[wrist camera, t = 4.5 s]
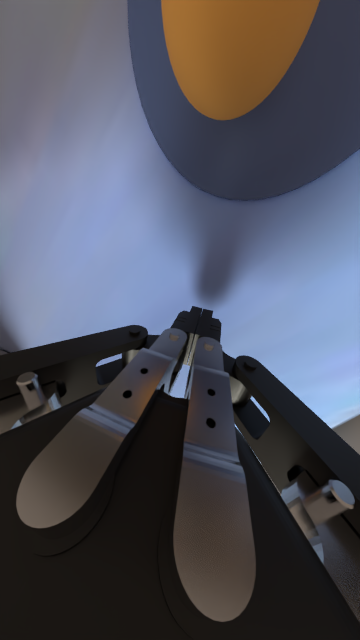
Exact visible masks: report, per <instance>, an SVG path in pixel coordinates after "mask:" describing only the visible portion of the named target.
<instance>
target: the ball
mask: <svg viewBox="0 0 360 640" xmlns="http://www.w3.org/2000/svg"><path fill="white" fill-rule="evenodd" d="M319 2H320V0H161V7H162V18H163V28H164V34H165V40H166V46H167V50H168V55H169V59H170V62H171V65H172V69H173V72H174V74H175V77H176V79H177V82H178V84H179V86H180V88H181V90H182V92H183V93H184V95H185V96H186V98H187V99H188V101H189V102H190V103H191V104H192V105H193V107H194V108H195V109H196V110H198V111H199V112H200V113H201V114H203V115H205V116H207V117H209V118H212V119H215V120H231V119H234V118H238V117H240V116H242V115H244V114H246V113H248V112H249V111H251V110H253V109H254V108H255V107H256V106H257V105H259V104H260V103H261V102H262V101H263V100H264V99H265V98H266V97H267V96H268V95H269V94H270V93H271V92H272V90H273V89H274V88H275V87H276V86H277V84H278V83H279V82H280V80H281V79H282V77H283V76H284V75H285V73H286V72H287V70H288V68H289V67H290V65H291V63H292V62H293V60H294V58H295V57H296V55H297V53H298V51H299V49H300V47H301V45H302V43H303V41H304V39H305V37H306V34H307V32H308V30H309V27H310V25H311V23H312V21H313V18H314V15H315V13H316V10H317V7H318V4H319Z"/></svg>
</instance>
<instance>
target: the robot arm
mask: <svg viewBox="0 0 360 640" xmlns="http://www.w3.org/2000/svg"><path fill="white" fill-rule="evenodd" d="M201 312H202V314H201ZM212 314H213V311H211V310H207V309H203V311H202V308H198V307H194V306H192V308H191V311H190V312H188V311H182V312H180V313H179V314H178V316H177V318H176V320H175V321H174V323H173V325H172V326H171V328H169V329H166V330H164V331H163V332H162V334H161V335H148V331H147V329H146V328H144V327H142V326H139V325H130V326H126V327H121V328H117V329H113V330H108V331H104V332H99V333H95V334H91V335H86V336H82V337H78V338H73V339H69V340H65V341H60V342H56V343H52V344H47V345H43V346H38V347H34V348H30V349H25V350H21V351H17V352H12V353H7V352H4V351H2V350H0V640H360V455H359V454H358V453H357V452H356V451H355V450H354V449H353V448H351V447H350V446H349V445H348V444H347V443H346V442H345V441H344V440H343V439H342V438H341V437H340V436H339V435H337V434H336V433H335V432H334V431H333V430H332V429H331V428H330V427H329V426H328V425H327V424H326V423H325V422H323V421H322V420H321V419H320V418H319V417H318V416H317V415H316V414H315V413H314V412H313V411H312V410H311V409H309V408H308V407H307V406H306V405H305V404H304V403H303V402H302V401H301V400H300V399H299V398H298V397H296V396H295V395H294V394H293V393H292V392H291V391H290V390H289V389H288V388H287V387H286V386H285V385H284V384H282V383H281V382H280V381H279V380H278V379H277V378H276V377H275V376H274V375H273V374H272V373H271V372H270V371H268V370H267V369H266V368H265V367H264V366H263V365H262V364H261V363H260V362H259V361H257V360H256V359H254V358H252V357H249V356H238V357H237V358H236V359H234V358H232V357H230V356H228V355H227V354H226V353H224V352H223V351H222V346H221V344H220V337H221V322H220V321H219V319H215V318H212ZM200 316H201V317H200ZM190 352H191V353H190ZM121 353H122V358H121V359H118V360H115V361H112V362H109V363H107V364H104V365H101V366H98V367H95V366H96V364H97V363H98V362H99V361H100V360H102V359H105V358H108V357H111V356H114V355H118V354H121ZM189 355H190V357H189ZM188 358H189V361H188ZM187 362H188V366H190V370H189V374H188V378H187V383H186V389H185V395H184V398H175V397H172V396H170V393H171V391H172V389H173V386H174V384H175V382H176V380H177V378H178V375H179V373H180V370H181V368H182V365H183V364H185V365H187ZM251 396H253V397H254V398H255V400H256V401H257V402H258V403H259V404H260V406H261V407H262V408H263V409H264V410H265V411H266V413H267V414H268V416H269V419H270V422H269V421H268V420H267V418H266V417H265V416H264V415H263V414H262V412H261V411H260V410H259V409H258V408H257V406H256V405H255V404H254V403H253V401H252V400H251V399H250V398H251ZM234 423H235V424H236V426H237V427H238V429H239V430H240V432H241V433H242V434H241V433H240V432H239V430H238V429H237V428H236V427H235V424H234ZM250 447H251V448H250ZM252 450H253V451H252ZM254 453H255V454H254ZM255 455H256V456H257V457H256V456H255ZM257 458H258V459H259V460H258V459H257ZM259 461H260V462H261V464H262V465H263V467H264V468H265V470H266V471H267V473H268V474H269V476H270V477H271V479H272V481H273V482H274V483H275V485H276V487H277V488H278V490H279V491H280V493H281V494H282V496H280V494H279V492H278V491H277V489H276V488H275V486H274V484H273V483H272V481H271V480H270V478H269V477H268V475H267V473H266V472H265V470H264V469H263V467H262V465H261V464H260V462H259Z"/></svg>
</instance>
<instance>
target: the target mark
mask: <svg viewBox="0 0 360 640" xmlns="http://www.w3.org/2000/svg"><path fill="white" fill-rule="evenodd" d="M128 29H129V39H130V48H131V58H132V64H133V69H134V75H135V80H136V85H137V89H138V93H139V96H140V100H141V104H142V107H143V110H144V113H145V116H146V118H147V121H148V124H149V126H150V129H151V131H152V133H153V135H154V137H155V139H156V141H157V143H158V145H159V146H160V148H161V149H162V151H163V152H164V154H165V155H166V157H167V158H168V160H169V161H170V162H171V163H172V165H173V166H174V167H175V168H176V169H177V170H178V172H179V173H180V174H181V175H183V176H184V177H185V178H186V179H187V180H188V181H190V182H191V183H192V184H194V185H195V186H197V187H198V188H200V189H202V190H203V191H206V192H208V193H210V194H213V195H215V196H218V197H223V198H227V199H233V200H257V199H264V198H269V197H273V196H277V195H281V194H283V193H286V192H289V191H292V190H294V189H297V188H299V187H301V186H303V185H305V184H307V183H309V182H311V181H313V180H315V179H317V178H318V177H320V176H321V175H323V174H325V173H326V172H328V171H329V170H331V169H333V168H334V167H336V166H337V165H339V164H340V163H341V162H343V161H344V160H345V159H347V158H348V157H349V156H351V155H352V154H353V153H354V152H356V151H357V150H358V149H360V0H320V2H319V4H318V7H317V10H316V13H315V15H314V18H313V21H312V23H311V25H310V27H309V30H308V32H307V34H306V37H305V39H304V41H303V43H302V45H301V47H300V49H299V51H298V53H297V55H296V57H295V58H294V60H293V62H292V63H291V65H290V67H289V68H288V70H287V72H286V73H285V75H284V76H283V77H282V79H281V80H280V82H279V83H278V84H277V86H276V87H275V88H274V89H273V90H272V92H271V93H270V94H269V95H268V96H267V97H266V98H265V99H264V100H263V101H262V102H261V103H260V104H259V105H257V106H256V107H255V108H254V109H253V110H251V111H249V112H248V113H246V114H244V115H242V116H240V117H238V118H234V119H231V120H215V119H212V118H209V117H207V116H205V115H203V114H201V113H200V112H199V111H198V110H196V109H195V108H194V107H193V105H192V104H191V103H190V102H189V101H188V99H187V98H186V96H185V95H184V93H183V92H182V90H181V88H180V86H179V84H178V82H177V79H176V77H175V74H174V72H173V69H172V65H171V62H170V59H169V55H168V50H167V46H166V40H165V34H164V28H163V18H162V7H161V0H128Z"/></svg>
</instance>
